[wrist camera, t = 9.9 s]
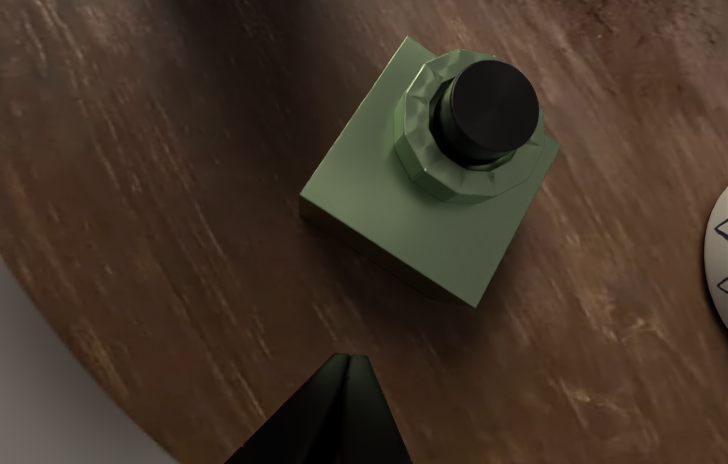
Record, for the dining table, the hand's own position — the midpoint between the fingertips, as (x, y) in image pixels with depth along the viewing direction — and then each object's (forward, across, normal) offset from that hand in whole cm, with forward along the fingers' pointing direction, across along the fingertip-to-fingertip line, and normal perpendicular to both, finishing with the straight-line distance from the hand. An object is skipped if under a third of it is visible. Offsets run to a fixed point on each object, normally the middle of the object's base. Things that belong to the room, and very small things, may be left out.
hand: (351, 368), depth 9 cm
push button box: (+16, -2, -1) cm, 16 cm away
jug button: (+10, -4, -6) cm, 13 cm away
